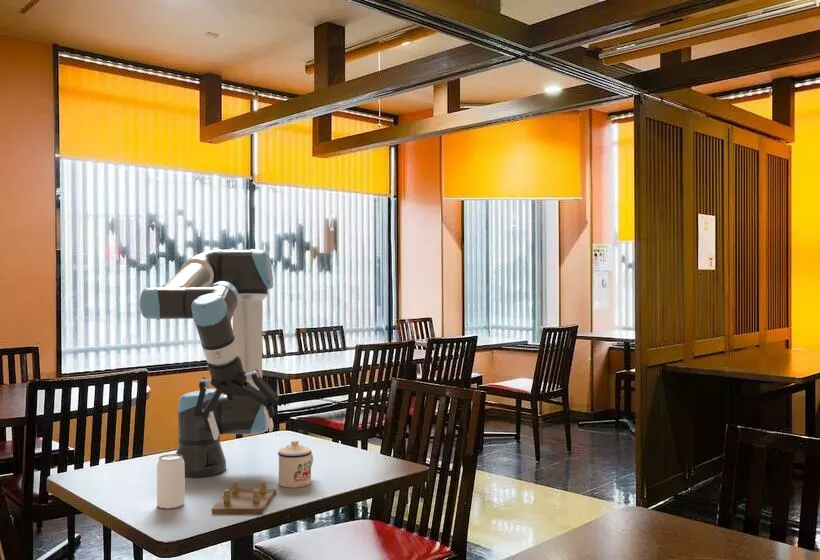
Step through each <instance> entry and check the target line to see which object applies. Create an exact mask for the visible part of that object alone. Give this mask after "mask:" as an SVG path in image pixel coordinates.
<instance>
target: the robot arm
mask: <svg viewBox="0 0 820 560" xmlns="http://www.w3.org/2000/svg"><path fill="white" fill-rule="evenodd" d="M273 286H274V277H273V268H272V262H271V259H270V255H269V253H268V252H267V251H266V250H264V249H254V248H250V249H249V248H247V249H242V248H241V249H211V250H207V251H204V252H201V253H199V254H196V255H194V256H192V257H190V258H188V259H187V260H186V261H185V262H183V263H182V265H181V266H180V268H179V271H178V272H177V273H175V275H174V276H172V277H171V278H170V279H169V280H168V281H166V282H165V284H163V285H162V286H161V287H156V286H154V287H145V288H143V290H142V291H141V294H140V297H139V308H140V313H141V315H142V317H143V318H145V319H149V320H152V319H153V320H177V319H178V320H181V319H183V320H184V319H185V320H189V319H190V320H191V319H192V320H193V322H194V323H195V327H196V330H197V333H198V337H199V340H200V343H201V348H202V351H203V353H204V357H205V360H206V362H207V368H208V371H209V374H210V377H211V378H206V377H205V376H202V377H201V378H200V380H199V384H198V387H199V390H194V391H190V392H187V393H185V394H182V395H181V396H180V397H179V399H178V408H177V409H178V410H177V417H178V418H177V422H178V423H177V426H178V427H177V428H178V429H177V431H178V435H177V436H178V440H177V441H178V444H177V448H176V451H175V454H180V455H183V457H182V458H183V460H184V464H185V478H203V477H204V478H205V477H211V476H215V475H218V474H220V473H221V474H222V473H223V472H224V471H226V470H227V459H226V457H225V454H224V450H223V448H222V445H221V435H249V436H250V435H252V436H253V435H257V434H258V435H259V434H264V433H265V432H266V431H269V432H273V430H274V422H273V418H274V417H275V409H274V405H275V406H276V405H278V402H279V397H280V396H279V395H278V394H277V392H275V391H274V390H273V388H272V387H271V386H270V385H269V384H268V383H267V382H266V381H265V379H263V300H265V298H266V297H267V296H268V295H269V294H268V293H269V292H268V290H272V289H273ZM210 385H211V386H212V387H213V388H209V387H210Z"/></svg>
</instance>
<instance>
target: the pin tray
mask: <svg viewBox="0 0 820 560" xmlns="http://www.w3.org/2000/svg"><path fill="white" fill-rule="evenodd" d="M276 494H277V488H267V481H266V480H262V481H259V488H254V487H252V488H249V487H248V488H245V487H244V488H242V487H241V488H239V481H238V480H233V481H231V488H229V489H224V490H223V496H222V497H221V498H219V500H218V501H217V502H216V504H214V505H213V506H212V508H211V514H212V513H222V514H224V515H225V514H230V515H231V514H232V515H233V514H237V515H238V514H239V515H242V514H248V515H249V514H252V515H254V514H257V515H258V514H259V515H263V513H264V511H265V510H266V508H268V505H269V504H270V503H271V502H272V500H273V499H274V497H275V496H276Z"/></svg>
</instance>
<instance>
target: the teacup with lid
mask: <svg viewBox="0 0 820 560" xmlns="http://www.w3.org/2000/svg"><path fill="white" fill-rule="evenodd" d="M277 455H278V484H279V486H281V487H283V488H287V489H289V488H290V489H291V488H293V489H294V488H295V489H297V488H303V487H306V486H308V485H310V484H311V481H312V475H311V474H312V466H313V462H314V455H313V453H312V449H311V448H310V447H307V446H304V445H303V444H300V443H299V440H297V439H296V440H295V439H294V440H291V442H290V443H289V444H287V445H286V446H285V447H282V448H280V449H279V450H278V452H277Z"/></svg>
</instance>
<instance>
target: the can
mask: <svg viewBox="0 0 820 560" xmlns="http://www.w3.org/2000/svg"><path fill="white" fill-rule="evenodd" d="M182 457H183V455H180V454H176V453H169V454H163V455H160V456H159V457H158V461H157V464H156V504H157V505H156V506H157V507H158V508H159V507H160V508H159V509H161V508H165V509H164V510H172V509H171V508H174V509H177V507H178V508H180V506H181V507H182V506H183V505H184V504H185V503H186V502H185V501H186V500H185V498H186V497H185V496H186V495H185V492H186V491H185V487H186V485H185V482H186V481H185V479H186V477H185V464H184V460H183V458H182Z"/></svg>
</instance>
